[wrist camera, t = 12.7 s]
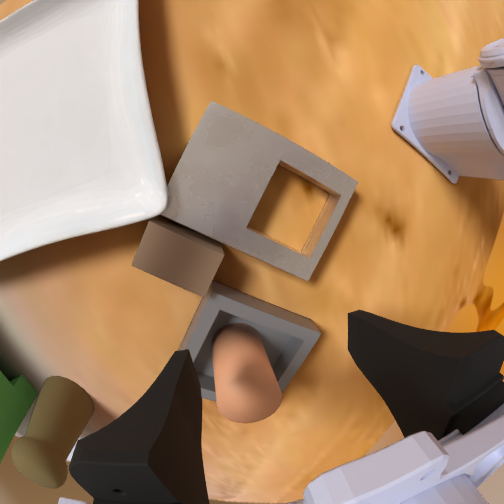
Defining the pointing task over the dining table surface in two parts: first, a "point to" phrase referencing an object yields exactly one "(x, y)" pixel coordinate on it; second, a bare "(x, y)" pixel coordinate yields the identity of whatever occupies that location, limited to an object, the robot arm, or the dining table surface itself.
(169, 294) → the dining table surface
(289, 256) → the grey flat frame
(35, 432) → the brown pawn
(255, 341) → the dowel
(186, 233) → the block
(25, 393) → the ramp block with notch
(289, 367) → the tray
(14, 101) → the salad plate
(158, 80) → the dining table surface
